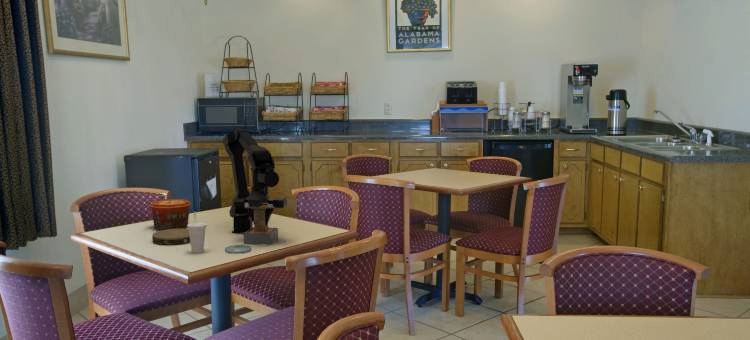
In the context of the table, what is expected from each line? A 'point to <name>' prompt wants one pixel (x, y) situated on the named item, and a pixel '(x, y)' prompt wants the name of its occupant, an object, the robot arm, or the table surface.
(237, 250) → the saucer
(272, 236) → the box
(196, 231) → the smoothie
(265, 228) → the brown upright block
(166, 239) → the tin can
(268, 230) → the button
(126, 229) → the table surface
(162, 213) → the food container
